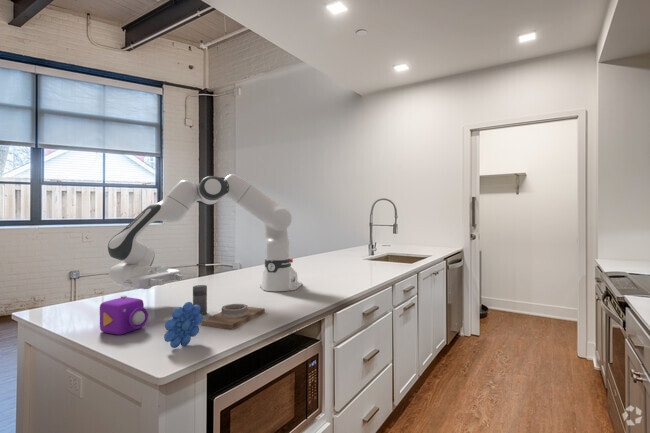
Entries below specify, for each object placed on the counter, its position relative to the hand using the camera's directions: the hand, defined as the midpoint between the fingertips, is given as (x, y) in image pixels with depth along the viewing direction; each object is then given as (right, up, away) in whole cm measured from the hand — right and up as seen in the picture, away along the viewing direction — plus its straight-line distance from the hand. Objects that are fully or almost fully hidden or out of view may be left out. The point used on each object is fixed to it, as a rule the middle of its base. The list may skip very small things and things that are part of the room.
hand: (172, 280), depth 135 cm
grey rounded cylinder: (+12, -11, -4) cm, 17 cm away
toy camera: (-5, -12, -22) cm, 26 cm away
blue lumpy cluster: (+17, -12, -34) cm, 40 cm away
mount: (+26, -12, -10) cm, 30 cm away
